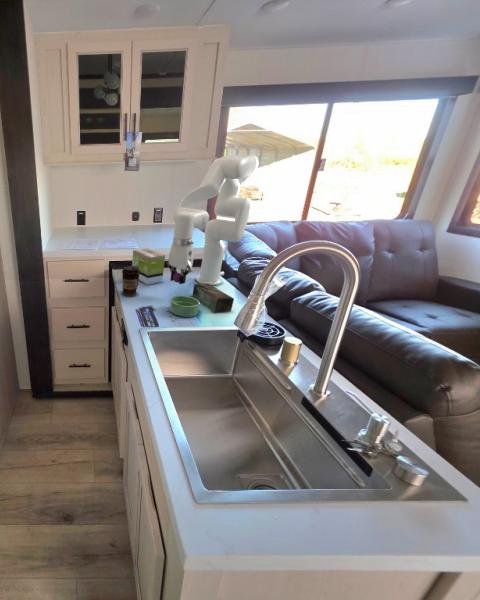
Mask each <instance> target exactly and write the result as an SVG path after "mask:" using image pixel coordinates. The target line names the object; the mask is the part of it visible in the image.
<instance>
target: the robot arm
mask: <svg viewBox="0 0 480 600" xmlns="http://www.w3.org/2000/svg"><path fill="white" fill-rule="evenodd" d="M258 166H259V158H258V156H256V155H255V154H228V155H223V156H221V157H219V158H216V159H214V160H213V161H212V162H211V163H210V166H209V167H208V169H207V171H206V173H205V175H204V177H203V179H202V181H201V183H200V184H199V186H197V187H196V188H194V189H193V190H191V191H190V192H188V193H187V194H186V195H185V196H184V197H182V199H181V201H180V202H179V204H178V206H177V208H176V210H175V211H174V216H173V219H174V228H173V239H172V243H171V245H170V249H169V254H168V260H167V261H166V265H167V266H168V268H169V272H170V281H171V282H174V280H173V276H174V274H175V273H178V269H180V273H181V276H180V280H179V283H178V284H179V285H182V284H183V285H184V284H185V283H186V281H187V279H186V278H187V275H188V274H190V273H192V272H194V268H193V264H194V246H193V244H194V241H193V234H194V229H201V228H204V246H203V252H202V257H201V258H202V259H201V265H200V271H199V275H197V276H196V277H195V281H196V282H197V283H201V284H205V283H209V284H210V285H212V286H219V285H221V284H222V282H223V280H222V279H221V276H224V275H225V272H224V271H221V270H222V264H223V260H224V259H223V258H224V254H225V244H224V242H228V243H238V242H240V241H241V240H242V238H243V236H244V234H245V231H246V227H247V224H248V222H249V219H250V215H251V212H252V201H251V200H250V199H249V198H247V197H238V196H239V193H240V189H241V185H240V182H239V180H241V179H246V178H248V177H251V176H253V175H254V174H255V172H256V171H257V169H258ZM215 197H217V198H216V201H215V205H214V210H213V213H214V215H215V216H217V217H220V219H219V218H213V219H210V214H209V213H208V211H207V210H204V209H198V208H192V207H193V206H194V205H196V204H198V203H201V202H203V201H207V200H210V199H212V198H215ZM221 218H228V219H234V220H228V219H221Z"/></svg>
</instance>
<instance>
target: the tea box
mask: <svg viewBox="0 0 480 600" xmlns="http://www.w3.org/2000/svg"><path fill="white" fill-rule="evenodd" d="M131 259H132V260H131V261H132V262H131V263H132V264H131V266H136V267H139V270H140V274H139V281H140V282H142V283H144V284H145V285H147V286H148V285H153V284H158V283H163V280H164V279H163V278H164V270H165V260H166V254H163V253H160V252H158V251H156V250H153V249H151V248H148V247H147V248H140V249H133V250H132V258H131Z"/></svg>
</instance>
